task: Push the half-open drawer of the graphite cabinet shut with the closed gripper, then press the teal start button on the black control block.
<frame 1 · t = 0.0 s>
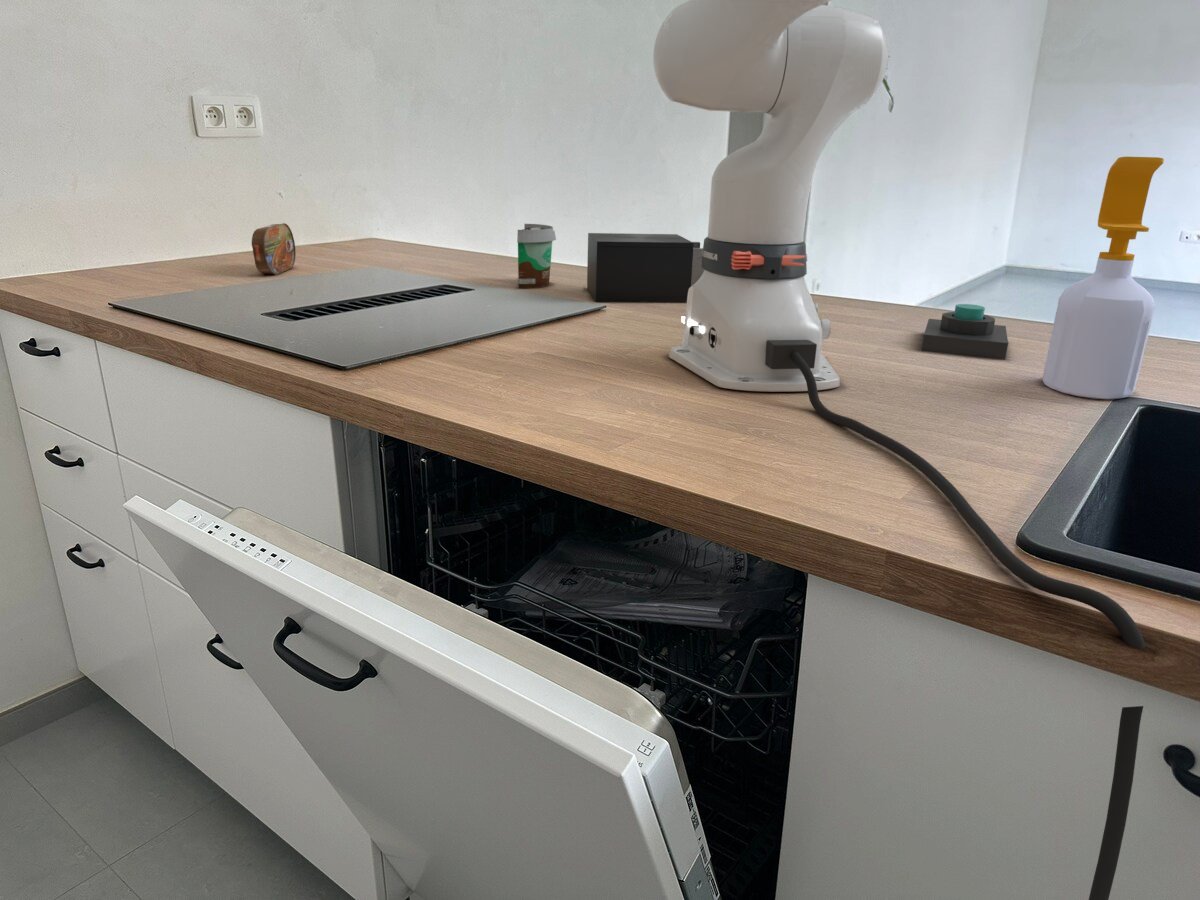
drawer: (689, 267, 145), point 5 cm above the worktop, slide at 5.0 cm
start button: (969, 313, 113), point 4 cm above the worktop, slide at 0.1 cm
control block: (963, 346, 115), on the worktop
coffee cup: (538, 285, 154), on the worktop
cabinet: (636, 295, 146), on the worktop
soap bottle: (1086, 390, 96), on the worktop
tin: (276, 272, 160), on the worktop
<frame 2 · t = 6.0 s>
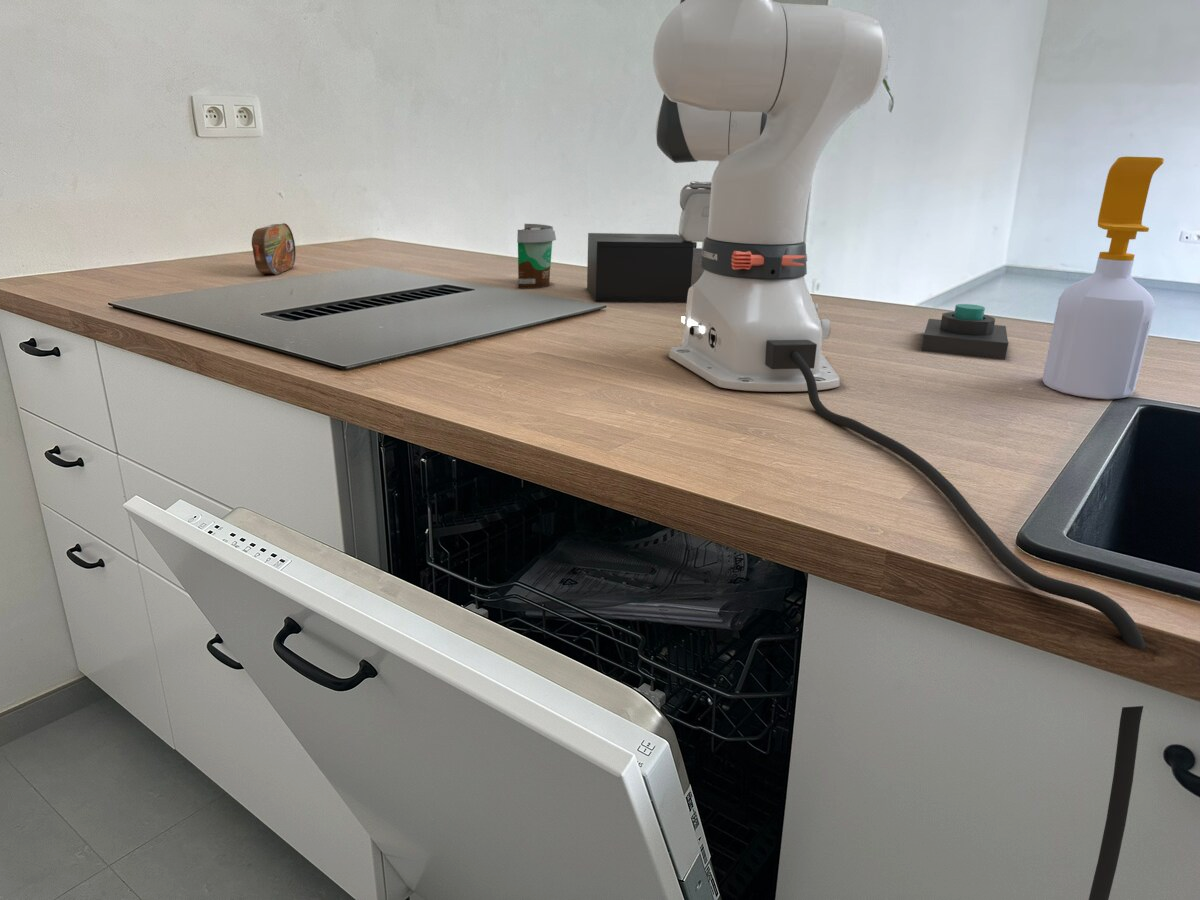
hand: (737, 270, 142), 5 cm above the worktop, tool pointing down, fingers closed
drawer: (685, 267, 145), point 5 cm above the worktop, slide at 4.4 cm, touching gripper
everything else where it was.
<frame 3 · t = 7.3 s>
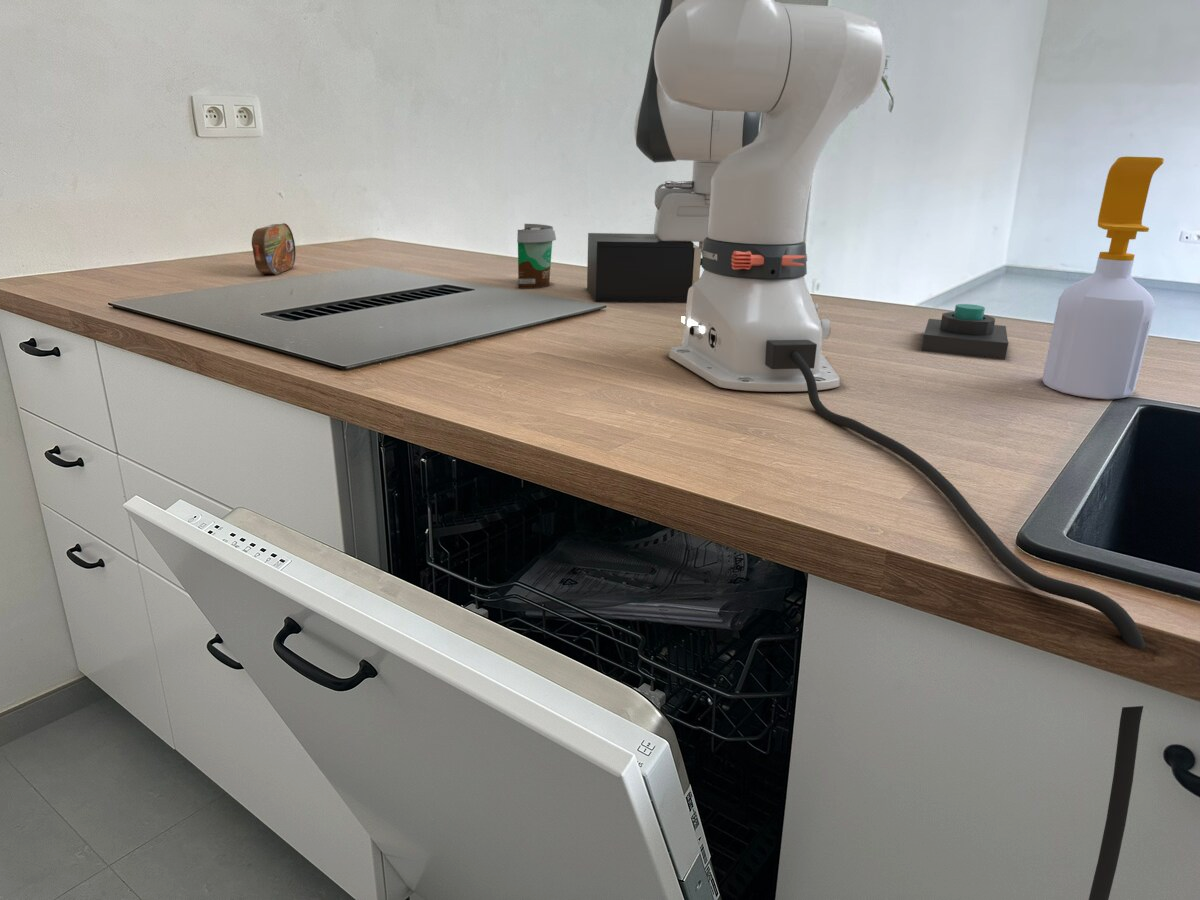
hand: (713, 270, 141), 5 cm above the worktop, tool pointing down, fingers closed
drawer: (662, 267, 144), point 5 cm above the worktop, slide at 0.3 cm, touching gripper
everything else where it was.
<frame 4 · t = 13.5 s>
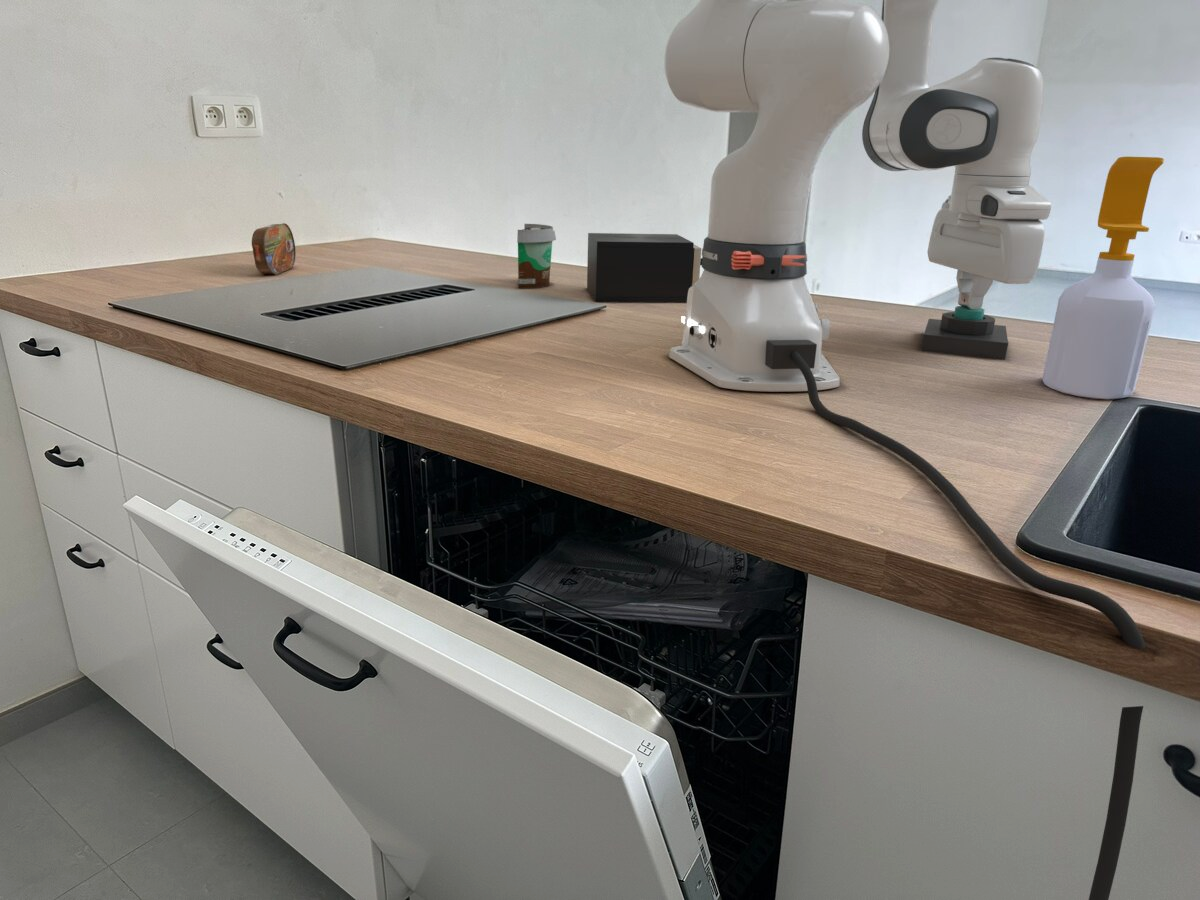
hand: (969, 307, 114), 5 cm above the worktop, tool pointing down, fingers closed, pressing on start button
drawer: (662, 267, 144), point 5 cm above the worktop, slide at 0.3 cm
start button: (968, 314, 114), point 4 cm above the worktop, slide at -0.2 cm, touching gripper
everything else where it was.
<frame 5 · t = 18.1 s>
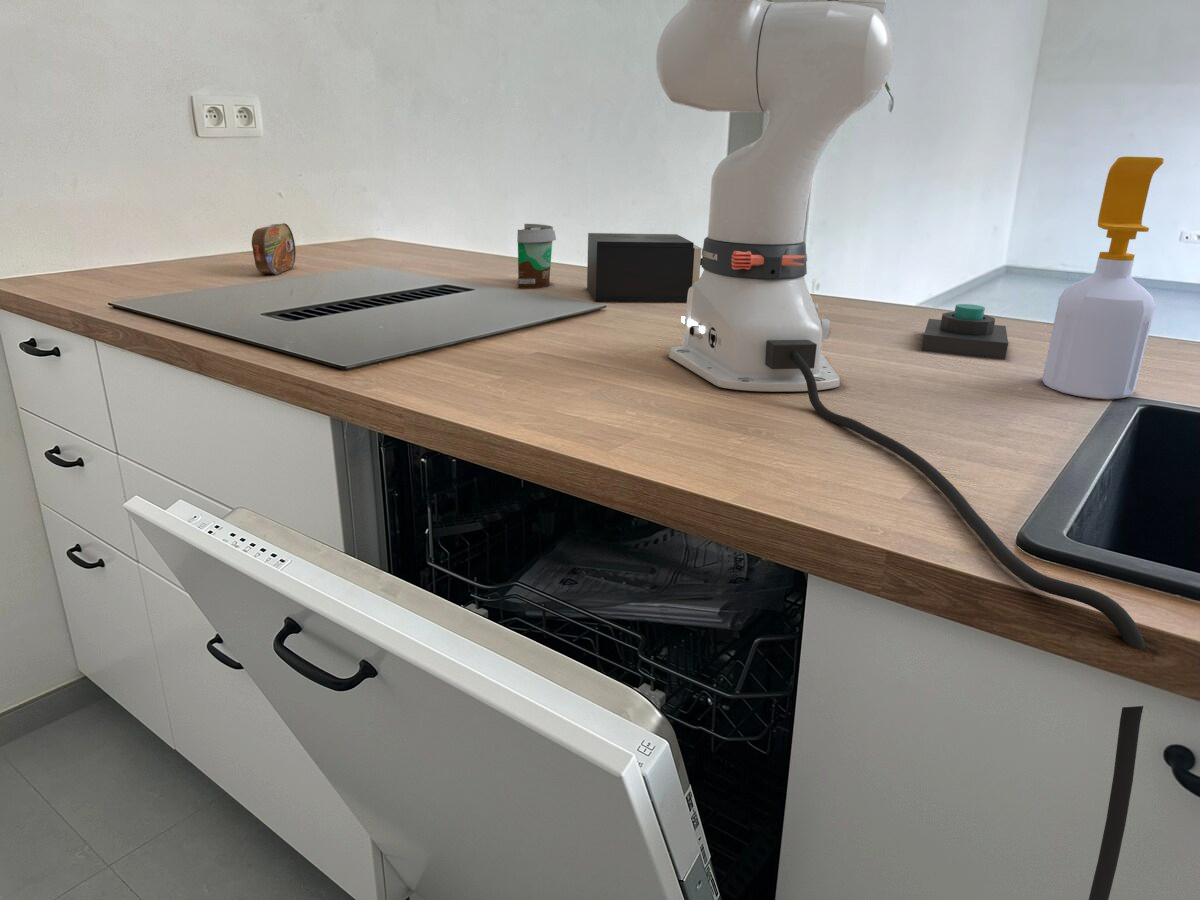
hand: (827, 113, 124), 29 cm above the worktop, tool pointing down, fingers closed
start button: (969, 313, 113), point 4 cm above the worktop, slide at 0.1 cm
everything else where it was.
at the end: drawer slide at 0.3 cm; start button pushed in 1.1 cm at the most during the clip, back to where it started at the end; start button slide at 0.1 cm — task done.
